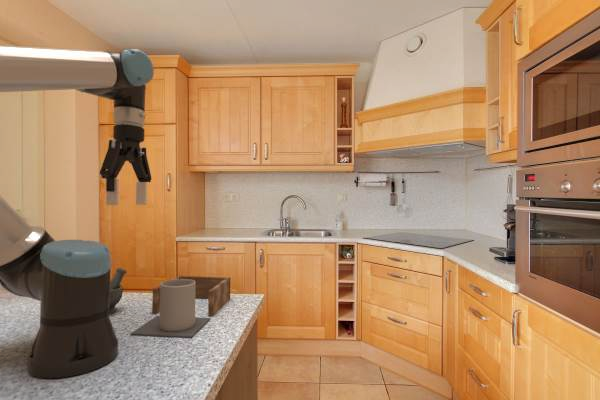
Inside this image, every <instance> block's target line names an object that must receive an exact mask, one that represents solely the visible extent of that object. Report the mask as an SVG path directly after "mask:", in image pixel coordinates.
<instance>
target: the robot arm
mask: <svg viewBox="0 0 600 400" xmlns="http://www.w3.org/2000/svg"><path fill="white" fill-rule="evenodd" d="M154 70H155V69H154V66H153V62H152V60H151V58H150V57H149V56H148V54H146V52H144V51H142V50H140V49H139V48H131V49H127V48H126V49H125V50H122V51H107V50H106V51H105V50H103V51H102V50H89V49H77V48H73V49H72V48H59V47H58V48H57V47H46V46H45V47H44V46H41V47H40V46H26V45H11V44H10V45H9V44H0V93H8V92H9V93H11V92H12V93H15V92H16V93H17V92H37V91H39V92H40V91H62V90H63V91H65V90H76V91H79V92H80V93H85V94H89V95H93V96H95V97H96V96H97V97H100V98H103V99H107V100H113V124H114V126H113V128H112V129H113V130H112V131H113V133H112V134H113V135H112V137H113V139H109V141H108V146H107V148H108V149H107V150H106V151H107V152H106V154H105V157H104V159H103V163H102V164H101V168H100V170H99V175H100V176H101V178H102V179H105V183H106V184H105V185H106V186H105V187H106V188H105V191H106V196H105V197H106V198H105V200H106V201H105V203H106V206H119V193H120V191H119V186H120V179H119V178H118V176H119V174H120V172H121V171H122V168H123V167H124V165H125V163H126V162H128V164H131V167H132V168H133V171H134V173H135V174H134V175H135V176H136V179H137V182H136V185H135V186H136V189H135V190H136V193H135V205H137V206H138V205H141V206H145V205H146V206H147V201H148V200H147V196H148V195H147V193H148V192H147V190H148V189H147V188H148V187H147V186H148V183H151V182H152V175H151V173H152V172H151V170H150V164H149V160H148V156H147V148H146V147H141V146H140V143H143V142H145V128H144V127H145V118H146V114H145V109H146V106H145V105H146V89H147V88H146V84H148V83H150V82H151V81H152V79H153V78H154V73H155V72H154ZM111 267H112V260H111V251H110V249H109V247H108V246H107V245H106V244H104V243H102V242H99V241H94V240H83V239H61V240H55V239H54V238H53V237H52V236H51V235H50V234H49V232H48V231H47V230H46V229H45V228H44V227H42V226H34V225H29V224H28V222H27V221H26V220H25V219H24V218H23V217H22V216H20V214H19V213H18V212H17V211H16V210H15V209H14V208H13V207H12V206H11V205H10V204H9V203H8V201H6V200H5V198H4V197H3V196H1V195H0V286H1V287H2V288H3V289H4V290H5V291H7V292H9V293H11V294H13V295H15V296H19V297H22V298H23V297H24V298H29V299H33V300H36V301H39V302H40V310H39V311H40V313H39V315H40V316H39V317H40V318H39V328H38V331H37V334H36V336H35V339H34V342H33V343H32V347H31V350H30V352H29V353H28V356H27V373H28V374H29V375H31V376H33V377H36V378H41V379H59V378H60V379H61V378H68V377H74V376H77V375H83V374H86V373H89V372H92V371H95V370H98V369H100V368H102V367H104V366H106V365H108V364H109V363H111V362H113V360H115V359H116V358H117V356H118V355H119V340H118V338H117V335H116V332H115V329H114V325H113V324H112V323H113V322H112V320H111V318H110V314H109V306H110V281H111Z"/></svg>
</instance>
